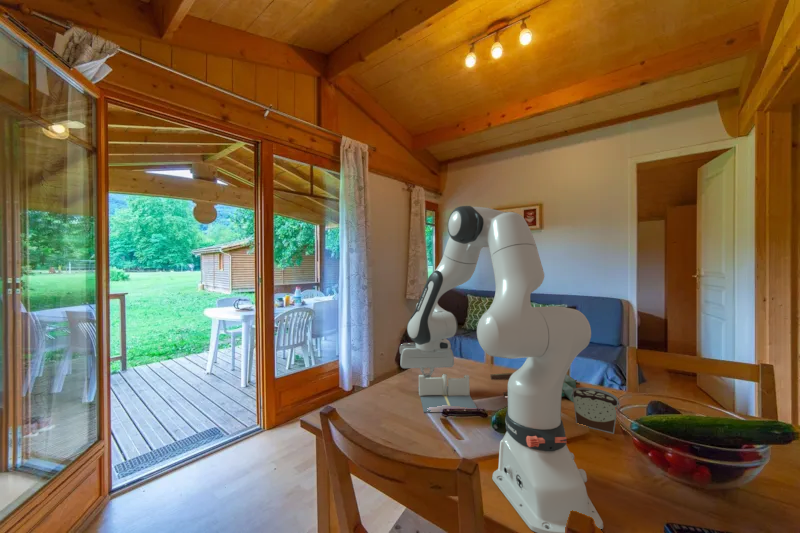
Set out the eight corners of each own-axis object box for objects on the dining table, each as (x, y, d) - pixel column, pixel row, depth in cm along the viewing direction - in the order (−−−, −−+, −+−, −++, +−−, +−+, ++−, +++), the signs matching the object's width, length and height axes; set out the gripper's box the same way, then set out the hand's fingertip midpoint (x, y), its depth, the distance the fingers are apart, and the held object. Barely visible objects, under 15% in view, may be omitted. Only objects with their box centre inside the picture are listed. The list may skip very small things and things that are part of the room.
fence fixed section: (468, 393, 116) (468, 374, 116) (469, 395, 114) (469, 376, 114) (447, 394, 115) (447, 375, 115) (448, 395, 114) (448, 376, 114)
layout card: (478, 411, 103) (478, 409, 103) (423, 413, 102) (423, 411, 102) (463, 387, 123) (463, 385, 123) (418, 388, 122) (418, 386, 122)
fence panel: (446, 393, 116) (446, 373, 115) (447, 395, 114) (447, 375, 114) (418, 393, 115) (418, 374, 115) (419, 396, 113) (419, 376, 113)
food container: (620, 425, 93) (620, 392, 93) (620, 435, 88) (620, 400, 88) (572, 414, 100) (572, 383, 100) (570, 423, 95) (570, 390, 95)
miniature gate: (487, 367, 136) (557, 361, 135) (488, 379, 136) (558, 374, 135) (507, 393, 109) (594, 386, 108) (509, 409, 109) (596, 402, 108)
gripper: (399, 345, 115) (399, 382, 115) (455, 344, 115) (455, 381, 116) (399, 340, 121) (399, 376, 121) (451, 339, 122) (451, 374, 122)
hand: (427, 378), depth 119 cm, fingers closed
